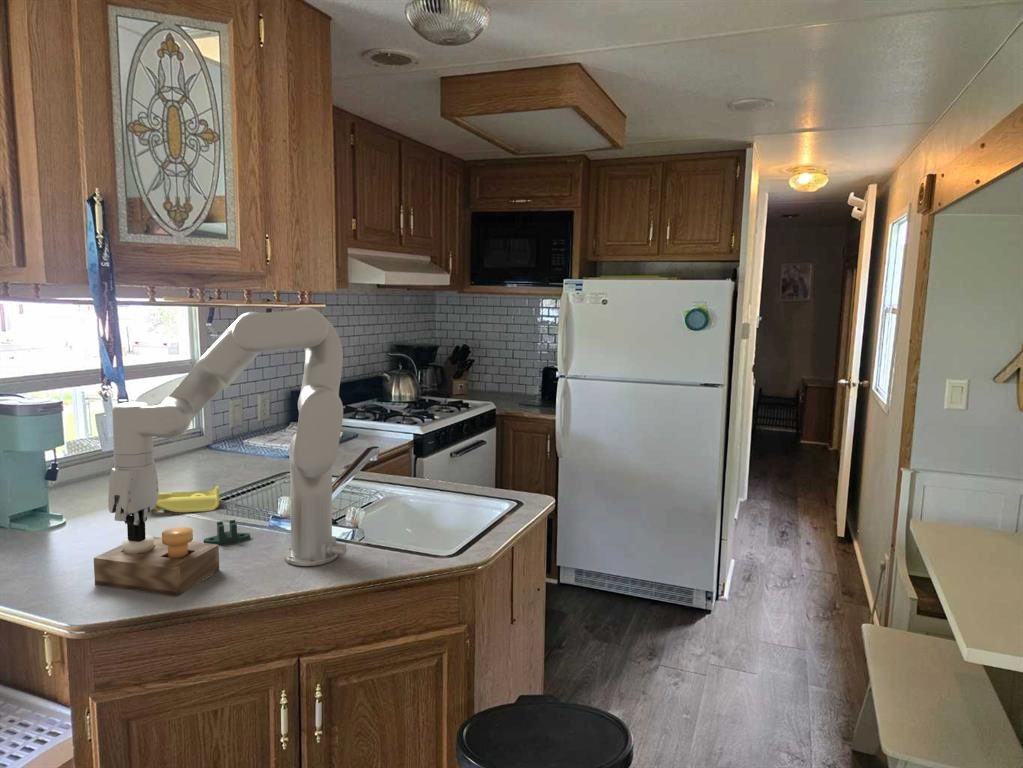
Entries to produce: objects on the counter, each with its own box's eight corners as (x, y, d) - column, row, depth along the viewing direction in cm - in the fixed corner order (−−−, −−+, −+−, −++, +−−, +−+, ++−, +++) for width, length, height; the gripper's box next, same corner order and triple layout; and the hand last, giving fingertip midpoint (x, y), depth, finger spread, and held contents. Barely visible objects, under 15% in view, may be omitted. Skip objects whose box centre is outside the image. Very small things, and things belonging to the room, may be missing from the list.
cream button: (160, 562, 151) (159, 536, 150) (140, 572, 145) (139, 546, 145) (137, 559, 152) (136, 533, 152) (117, 569, 147) (115, 543, 146)
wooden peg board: (219, 569, 153) (218, 544, 152) (176, 596, 139) (176, 568, 139) (143, 559, 157) (142, 535, 156) (94, 584, 143) (93, 557, 143)
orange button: (199, 554, 149) (198, 528, 148) (180, 564, 143) (180, 538, 142) (175, 551, 150) (174, 525, 149) (156, 561, 144) (155, 534, 143)
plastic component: (214, 491, 204) (219, 484, 196) (214, 515, 201) (219, 510, 193) (139, 494, 193) (141, 487, 185) (139, 519, 191) (141, 514, 183)
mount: (204, 547, 166) (203, 528, 165) (202, 541, 170) (202, 522, 169) (251, 541, 171) (251, 522, 170) (248, 535, 175) (248, 517, 174)
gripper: (144, 450, 154) (146, 527, 156) (91, 465, 139) (94, 550, 142) (173, 453, 152) (175, 530, 155) (122, 469, 138) (125, 554, 140)
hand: (136, 539), depth 148 cm, fingers closed
